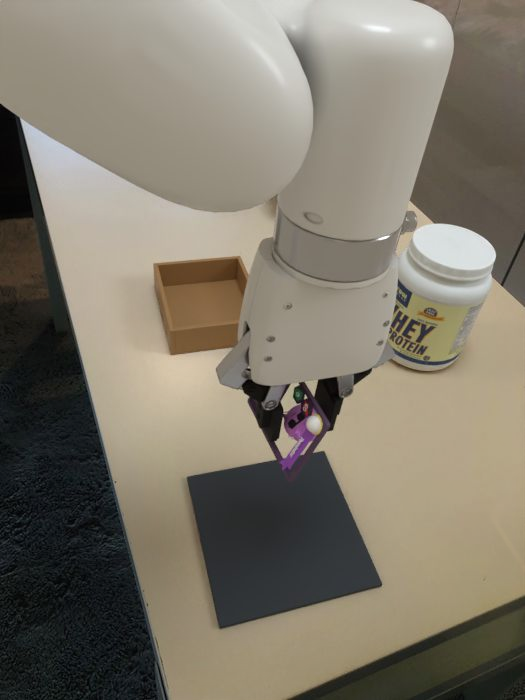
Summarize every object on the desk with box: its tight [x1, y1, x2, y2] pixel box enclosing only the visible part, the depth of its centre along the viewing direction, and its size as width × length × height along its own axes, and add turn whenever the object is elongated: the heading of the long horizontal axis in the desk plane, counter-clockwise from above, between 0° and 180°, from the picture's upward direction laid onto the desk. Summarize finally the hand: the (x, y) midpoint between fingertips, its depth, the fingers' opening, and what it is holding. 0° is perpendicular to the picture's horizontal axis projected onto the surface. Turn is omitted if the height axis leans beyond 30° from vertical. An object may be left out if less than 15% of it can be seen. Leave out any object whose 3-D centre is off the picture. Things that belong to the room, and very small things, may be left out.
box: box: [152, 255, 249, 356], centre depth 79 cm, size 13×15×4 cm
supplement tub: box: [387, 223, 497, 372], centre depth 74 cm, size 12×12×17 cm
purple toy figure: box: [247, 382, 330, 482], centre depth 46 cm, size 7×5×9 cm
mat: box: [186, 450, 383, 630], centre depth 57 cm, size 16×16×1 cm
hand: (296, 421), depth 46 cm, fingers closed on purple toy figure, 4 cm apart
